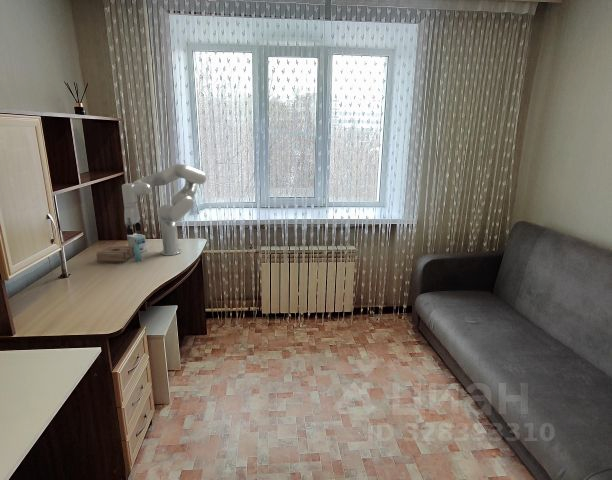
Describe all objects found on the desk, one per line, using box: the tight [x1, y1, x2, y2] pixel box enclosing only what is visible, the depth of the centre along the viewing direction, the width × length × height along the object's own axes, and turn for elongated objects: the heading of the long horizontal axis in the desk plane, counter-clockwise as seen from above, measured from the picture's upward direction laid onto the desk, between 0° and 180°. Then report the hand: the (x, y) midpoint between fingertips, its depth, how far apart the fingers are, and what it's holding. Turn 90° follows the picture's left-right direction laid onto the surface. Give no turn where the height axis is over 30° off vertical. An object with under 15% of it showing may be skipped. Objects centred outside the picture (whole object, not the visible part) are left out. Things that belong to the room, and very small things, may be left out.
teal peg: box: [134, 245, 142, 263], centre depth 243 cm, size 3×3×10 cm
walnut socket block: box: [95, 245, 135, 264], centre depth 247 cm, size 16×16×6 cm
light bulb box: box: [126, 232, 148, 254], centre depth 263 cm, size 11×7×11 cm, turn 58°
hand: (134, 232), depth 239 cm, fingers open, 9 cm apart
